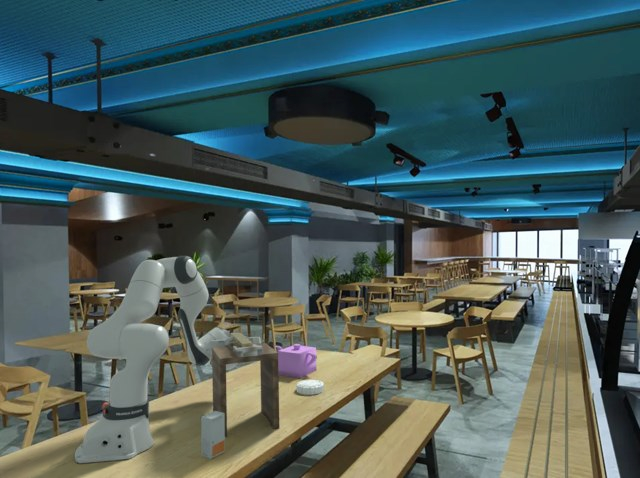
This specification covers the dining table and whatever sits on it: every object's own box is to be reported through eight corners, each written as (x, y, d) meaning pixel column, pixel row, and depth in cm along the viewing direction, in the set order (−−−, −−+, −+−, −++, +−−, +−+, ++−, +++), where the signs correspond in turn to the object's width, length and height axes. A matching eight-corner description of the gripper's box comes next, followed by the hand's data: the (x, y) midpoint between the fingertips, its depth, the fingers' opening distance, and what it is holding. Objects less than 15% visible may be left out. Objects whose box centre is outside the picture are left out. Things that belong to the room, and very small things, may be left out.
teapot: (283, 365, 243) (283, 339, 243) (324, 371, 230) (324, 343, 230) (266, 373, 230) (265, 344, 230) (308, 379, 217) (307, 349, 217)
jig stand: (221, 438, 151) (220, 350, 152) (213, 419, 169) (211, 339, 169) (280, 429, 159) (278, 344, 159) (266, 411, 176) (265, 335, 176)
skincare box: (211, 459, 137) (210, 419, 137) (201, 456, 139) (200, 416, 139) (225, 451, 142) (225, 412, 142) (215, 448, 144) (215, 410, 144)
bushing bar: (242, 354, 158) (242, 343, 158) (230, 342, 179) (230, 333, 179) (252, 353, 159) (252, 342, 159) (240, 341, 180) (239, 332, 180)
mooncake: (291, 393, 198) (291, 385, 198) (304, 385, 209) (304, 377, 209) (316, 396, 193) (316, 388, 193) (328, 388, 203) (328, 380, 203)
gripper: (205, 345, 184) (209, 332, 173) (255, 340, 191) (262, 328, 180) (206, 360, 181) (210, 349, 169) (257, 355, 188) (264, 344, 177)
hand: (237, 338), depth 175 cm, fingers closed on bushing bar, 4 cm apart
